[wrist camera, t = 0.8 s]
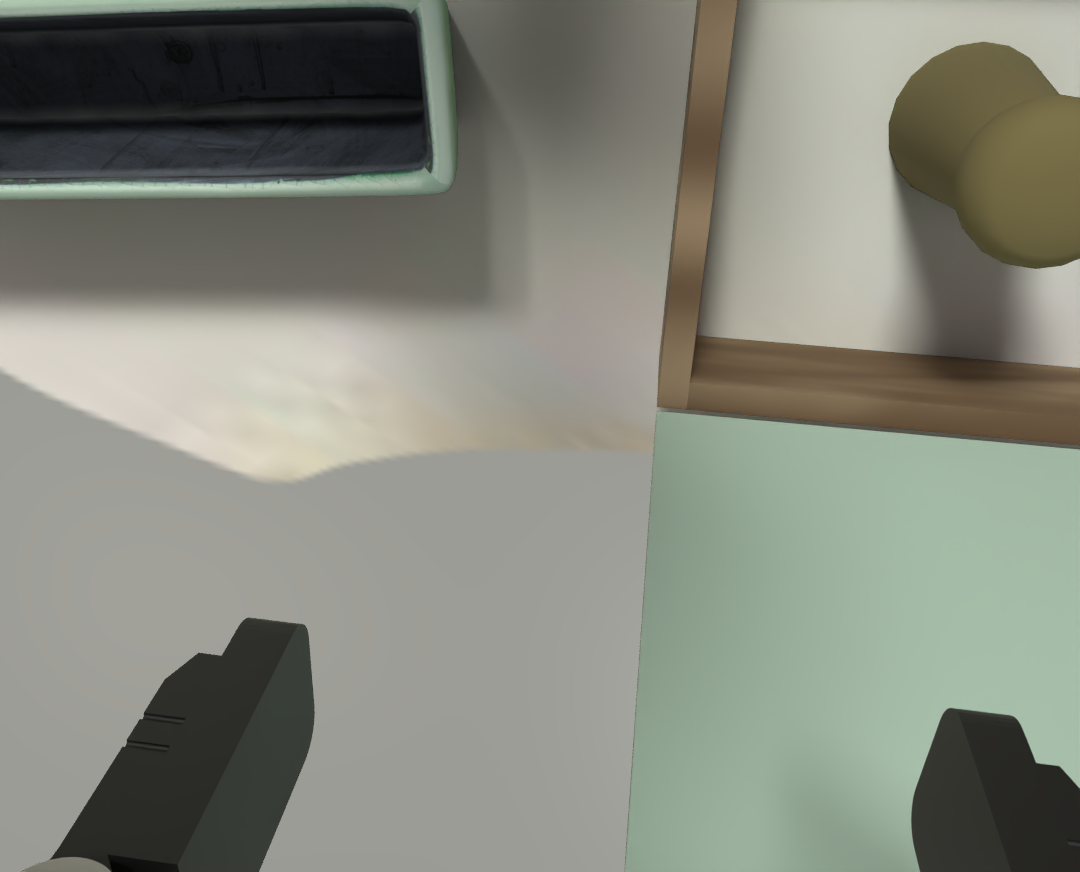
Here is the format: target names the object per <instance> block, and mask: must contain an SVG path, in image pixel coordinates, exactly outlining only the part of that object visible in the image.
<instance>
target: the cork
mask: <svg viewBox="0 0 1080 872" xmlns="http://www.w3.org/2000/svg"><path fill="white" fill-rule="evenodd" d="M889 149H890V152H891V154H892V157H893V160H894V163H895V165H896V168H897V170H898V171H899V172H900V173H901V175H902V176H903V177H904V178H905V179H906V180H907V182H908V183H909V184H910V185H911V186H912V187H914V188H916V189H918V190H919V191H921V192H923V193H925V194H927V195H928V196H930V197H932V198H934V199H936V200H938V201H940V202H942V203H944V204H946V205H948V206H950V207H952V208H954V209H956V211H957V214H958V217H959V219H960V222H961V225H962V228H963V229H964V230H965V232H966V233H967V234H968V235H969V236H970V238H971V239H972V240H973V241H974V242H975V243H976V245H977V246H978V247H979V248H980V249H981V250H982V251H983V252H985V253H987V254H988V255H990V256H992V257H994V258H996V259H998V260H999V261H1001V262H1003V263H1007V264H1011V265H1016V266H1022V267H1028V268H1034V269H1037V268H1046V267H1054V266H1062V265H1064V264H1067V263H1069V262H1072V261H1074V260H1077V259H1080V98H1078V97H1072V96H1066V95H1060V94H1059V93H1058V92H1057V91H1056V89H1055V88H1054V87H1053V86H1052V85H1051V83H1050V82H1049V81H1048V80H1047V78H1046V77H1045V76H1044V75H1043V74H1042V72H1041V71H1040V70H1039V69H1038V67H1037V66H1036V65H1035V64H1034V63H1033V61H1032V60H1031V59H1030V58H1029V57H1027V56H1025V55H1024V54H1022V53H1020V52H1018V51H1017V50H1015V49H1013V48H1011V47H1010V46H1006V45H1000V44H994V43H988V42H979V43H973V44H967V45H961V46H956V47H954V48H952V49H950V50H948V51H946V52H944V53H942V54H940V55H938V56H935V57H933V58H932V59H931V60H929V61H928V62H927V63H926V64H925V65H924V66H923V67H921V68H920V69H919V70H918V71H917V72H916V73H915V74H913V75H912V76H911V78H910V79H909V81H908V82H907V84H906V85H905V87H904V88H903V90H902V91H901V93H900V94H899V96H898V97H897V99H896V102H895V105H894V108H893V112H892V115H891V118H890V122H889Z"/></svg>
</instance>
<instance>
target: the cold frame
mask: <svg viewBox="0 0 1080 872" xmlns="http://www.w3.org/2000/svg"><path fill="white" fill-rule="evenodd" d="M736 8H737V0H697V8H696V18H695V27H694V36H693V46H692V55H691V65H690V74H689V83H688V93H687V102H686V111H685V121H684V130H683V140H682V149H681V158H680V168H679V177H678V186H677V196H676V205H675V214H674V224H673V233H672V243H671V252H670V261H669V271H668V280H667V289H666V299H665V308H664V317H663V327H662V336H661V346H660V355H659V374H658V398H657V407H667V408H678V409H689V410H700V411H711V412H722V413H733V414H744V415H755V416H766V417H777V418H788V419H799V420H810V421H821V422H832V423H843V424H854V425H865V426H876V427H887V428H898V429H909V430H920V431H931V432H942V433H953V434H964V435H975V436H986V437H997V438H1008V439H1019V440H1030V441H1041V442H1052V443H1063V444H1074V445H1080V368H1072V367H1060V366H1048V365H1036V364H1025V363H1013V362H1001V361H989V360H977V359H965V358H953V357H942V356H930V355H918V354H906V353H894V352H882V351H870V350H858V349H847V348H835V347H823V346H811V345H799V344H787V343H775V342H763V341H752V340H740V339H728V338H716V337H704V336H696V329H697V321H698V313H699V305H700V297H701V289H702V281H703V273H704V265H705V257H706V249H707V241H708V233H709V225H710V217H711V209H712V201H713V193H714V185H715V177H716V169H717V161H718V153H719V145H720V137H721V129H722V121H723V113H724V104H725V96H726V88H727V80H728V72H729V64H730V56H731V48H732V40H733V32H734V24H735V16H736Z"/></svg>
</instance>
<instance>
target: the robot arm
mask: <svg viewBox="0 0 1080 872" xmlns="http://www.w3.org/2000/svg"><path fill="white" fill-rule="evenodd" d="M313 726H314V698H313V685H312V673H311V661H310V648H309V636H308V631H307V628H306V626H305V625H303V624H296V623H287V622H280V621H272V620H264V619H256V618H246V619H245V620H243V622H242V623H241V624H240V625H239V627H238V629H237V630H236V632H235V634H234V636H233V637H232V639H231V641H230V643H229V644H228V646H227V648H226V649H225V651H224V653H223V655H222V656H218V655H211V654H204V653H198V654H197V655H195V656H194V657H193V658H192V659H190V660H189V661H188V662H187V663H185V664H184V665H183V666H182V667H180V668H179V669H178V670H176V671H175V672H174V673H173V674H171V675H170V676H169V677H168V678H166V679H165V680H164V682H163V683H162V685H161V686H160V688H159V690H158V691H157V693H156V694H155V696H154V698H153V699H152V701H151V702H150V704H149V706H148V707H147V709H146V710H145V712H144V717H143V719H140V720H139V721H138V723H137V725H136V726H135V728H134V729H133V731H132V733H131V734H130V736H129V737H128V739H127V744H126V746H125V747H122V748H121V750H120V752H119V753H118V755H117V756H116V758H115V760H114V761H113V763H112V764H111V766H110V768H109V769H108V771H107V772H106V774H105V775H104V777H103V779H102V780H101V782H100V783H99V785H98V786H97V788H96V790H95V791H94V793H93V794H92V796H91V798H90V799H89V801H88V802H87V804H86V806H85V807H84V809H83V810H82V812H81V813H80V815H79V817H78V818H77V820H76V822H75V823H74V825H73V826H72V828H71V829H70V831H69V832H68V834H67V836H66V837H65V839H64V840H63V842H62V844H61V845H60V847H59V848H58V849H57V851H56V852H55V854H54V855H53V857H52V858H51V859H50V860H48V861H45V862H41V863H38V864H36V865H34V866H31V867H29V868H27V869H25V870H23V871H21V872H259V870H260V868H261V865H262V863H263V860H264V858H265V856H266V853H267V851H268V849H269V846H270V844H271V841H272V839H273V837H274V834H275V832H276V829H277V827H278V825H279V822H280V820H281V817H282V815H283V812H284V810H285V808H286V805H287V803H288V800H289V798H290V796H291V793H292V791H293V788H294V786H295V783H296V781H297V779H298V776H299V774H300V772H301V769H302V767H303V764H304V762H305V759H306V757H307V753H308V750H309V747H310V743H311V738H312V733H313ZM911 829H912V839H913V844H914V849H915V853H916V857H917V861H918V866H919V870H920V872H1080V788H1079V787H1078V786H1077V785H1076V784H1075V783H1074V782H1073V780H1072V779H1071V778H1070V777H1069V776H1068V775H1067V774H1066V773H1065V771H1064V770H1063V769H1062V768H1061V767H1060V766H1055V765H1048V764H1040V763H1036V761H1035V759H1034V756H1033V754H1032V751H1031V749H1030V746H1029V744H1028V741H1027V738H1026V736H1025V733H1024V731H1023V729H1022V726H1021V724H1020V723H1019V721H1018V720H1017V719H1016V718H1015V717H1014V716H1012V715H1004V714H996V713H988V712H980V711H972V710H964V709H956V708H948V709H946V711H945V712H944V713H943V715H942V717H941V719H940V722H939V725H938V727H937V730H936V733H935V736H934V738H933V741H932V744H931V747H930V750H929V752H928V755H927V758H926V761H925V764H924V766H923V769H922V772H921V775H920V777H919V780H918V783H917V786H916V789H915V792H914V796H913V802H912V811H911Z"/></svg>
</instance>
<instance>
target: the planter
mask: <svg viewBox="0 0 1080 872" xmlns="http://www.w3.org/2000/svg"><path fill="white" fill-rule="evenodd" d="M457 155H458V130H457V110H456V94H455V81H454V67H453V55H452V42H451V31H450V20H449V11H448V6H447V3H446V1H445V0H0V200H37V199H158V198H259V197H343V196H400V195H423V194H435V193H440V192H446V191H448V190H449V189H450V188H451V186H452V184H453V182H454V180H455V176H456V170H457Z"/></svg>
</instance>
